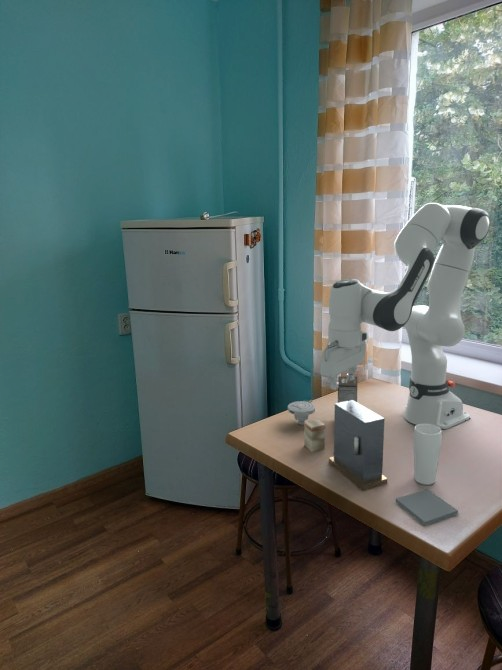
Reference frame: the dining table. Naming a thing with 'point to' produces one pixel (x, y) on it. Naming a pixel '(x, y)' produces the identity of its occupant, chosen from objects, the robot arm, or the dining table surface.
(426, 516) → the mat
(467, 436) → the dining table surface
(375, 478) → the cabinet
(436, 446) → the drinking glass
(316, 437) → the block
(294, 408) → the showerhead
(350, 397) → the coffee box
